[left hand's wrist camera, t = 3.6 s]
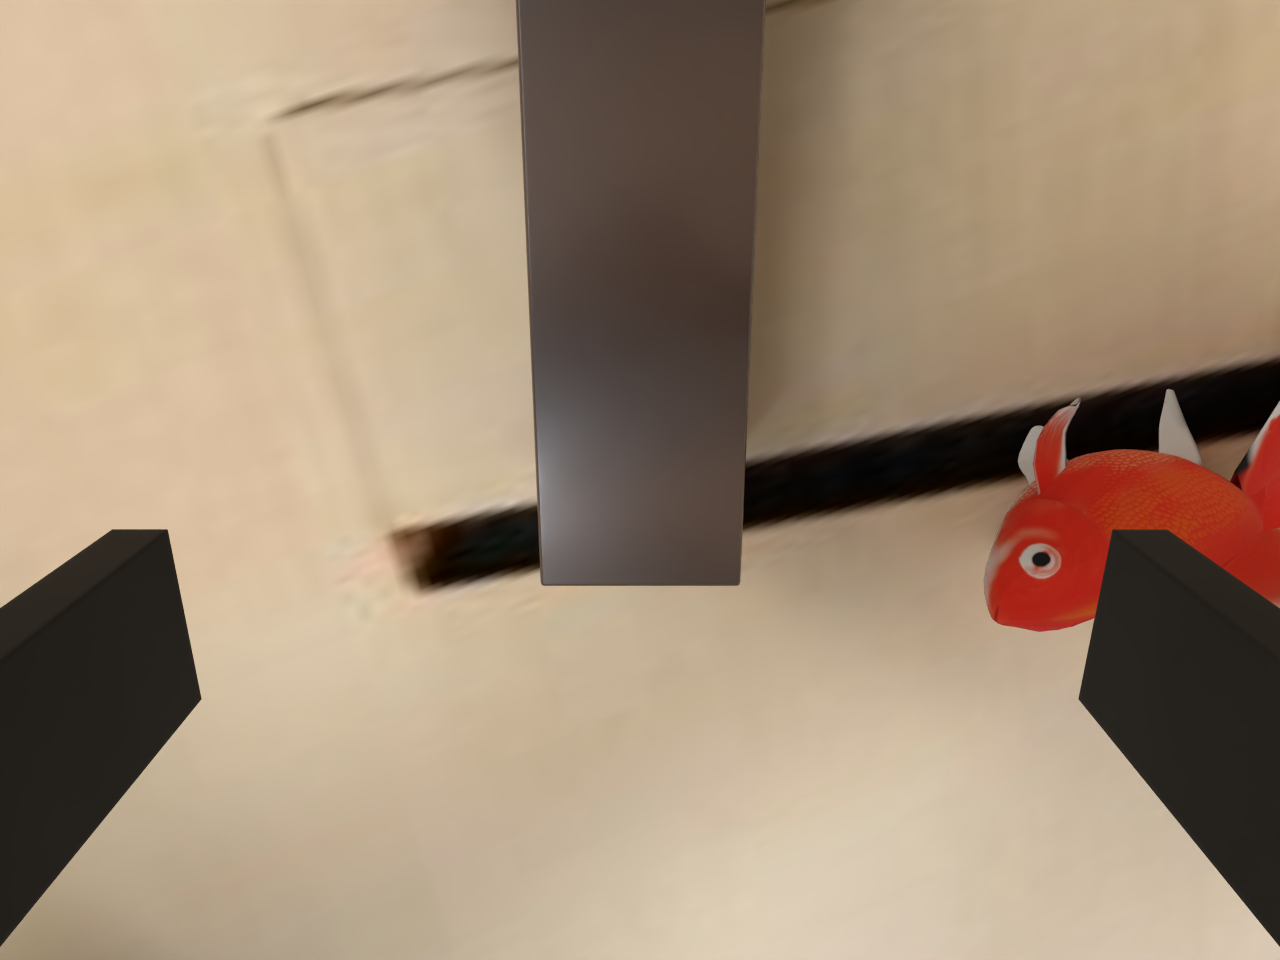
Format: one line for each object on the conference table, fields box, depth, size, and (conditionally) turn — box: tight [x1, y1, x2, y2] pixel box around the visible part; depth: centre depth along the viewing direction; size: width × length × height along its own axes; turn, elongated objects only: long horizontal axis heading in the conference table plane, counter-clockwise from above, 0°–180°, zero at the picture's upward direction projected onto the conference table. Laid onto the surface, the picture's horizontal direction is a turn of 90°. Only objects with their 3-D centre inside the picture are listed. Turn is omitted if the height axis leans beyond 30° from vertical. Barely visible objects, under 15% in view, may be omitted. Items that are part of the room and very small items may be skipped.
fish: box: [984, 389, 1280, 632], centre depth 25 cm, size 11×16×10 cm
